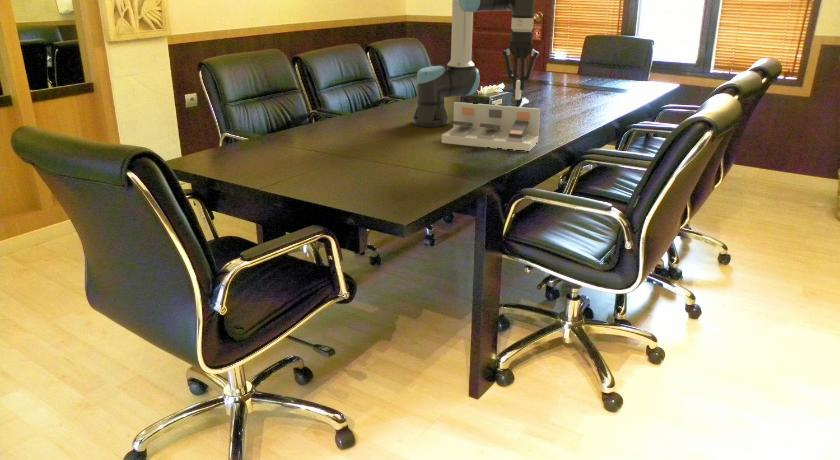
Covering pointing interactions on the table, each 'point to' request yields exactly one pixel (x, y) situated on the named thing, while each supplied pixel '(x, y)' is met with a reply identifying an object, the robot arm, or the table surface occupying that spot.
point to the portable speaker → (513, 97)
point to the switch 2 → (489, 125)
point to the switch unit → (491, 136)
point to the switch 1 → (462, 123)
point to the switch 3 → (518, 128)
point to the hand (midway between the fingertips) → (518, 98)
